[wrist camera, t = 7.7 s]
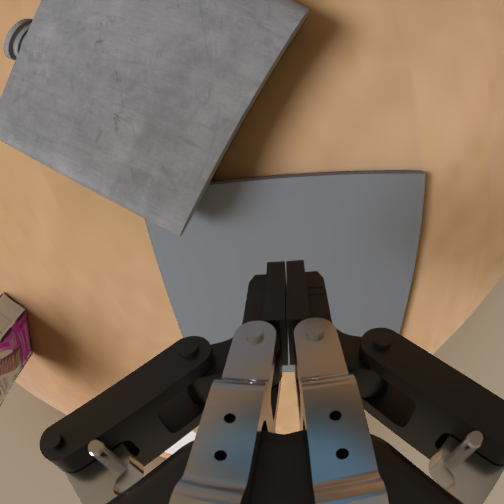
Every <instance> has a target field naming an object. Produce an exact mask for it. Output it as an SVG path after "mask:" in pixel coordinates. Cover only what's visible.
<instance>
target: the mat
mask: <svg viewBox="0 0 504 504" xmlns="http://www.w3.org/2000/svg"><path fill="white" fill-rule="evenodd" d="M425 179H426V174H425V173H424V172H422V171H413V170H384V171H342V172H320V173H303V174H288V175H275V176H263V177H252V178H241V179H232V180H223V181H214V182H210V183H209V185H208V187H207V189H206V191H205V192H204V194H203V196H202V198H201V200H200V202H199V204H198V206H197V208H196V210H195V212H194V214H193V216H192V218H191V220H190V221H189V223H188V225H187V227H186V229H185V231H184V232H183V234H182V235H181V236H178V235H176V234H174V233H172V232H170V231H168V230H166V229H164V228H162V227H160V226H158V225H156V224H154V223H153V222H151V221H149V220H147V219H145V222H146V226H147V229H148V233H149V236H150V240H151V243H152V246H153V250H154V253H155V256H156V260H157V263H158V266H159V269H160V272H161V275H162V279H163V282H164V285H165V288H166V291H167V294H168V297H169V299H170V302H171V305H172V308H173V311H174V314H175V317H176V319H177V322H178V325H179V327H180V330H181V333H182V336H183V338H185V337H189V336H199V337H203V338H205V339H206V340H207V341H208V342H209V343H210V345H211V344H215V343H219V342H223V341H226V340H228V339H231V338H232V337H233V336H234V333H235V331H236V330H237V329H238V328H239V327H240V326H241V325H242V323H243V316H244V310H245V304H246V300H247V298H246V297H247V293H248V285H249V282H250V281H251V279H252V278H253V277H254V276H255V275H261V274H266V270H267V262H278V261H285V270H286V261H293V260H304V267H305V272H310V271H318V272H319V274H320V275H321V276H322V277H323V278H324V282H325V288H326V292H327V298H328V303H329V308H330V314H331V320H332V323H333V324H334V326H335V327H336V328H337V329H338V330H339V331H341V332H343V333H345V334H348V335H353V336H359V337H362V336H363V335H364V333H366V332H367V331H368V330H370V329H373V328H388V329H391V330H393V331H395V332H396V333H398V334H399V333H400V329H401V326H402V322H403V318H404V314H405V310H406V306H407V301H408V297H409V292H410V288H411V283H412V278H413V273H414V267H415V262H416V256H417V250H418V243H419V236H420V229H421V221H422V213H423V203H424V192H425ZM286 283H287V273H286ZM282 372H295V365H290V357H289V339H288V365H284V366H282Z"/></svg>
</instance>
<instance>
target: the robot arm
mask: <svg viewBox="0 0 504 504" xmlns="http://www.w3.org/2000/svg"><path fill="white" fill-rule="evenodd" d="M286 273H287V283H286ZM246 298H247V300H246V304H245V310H244V316H243V323H242V325H241V326H240V327H239V328H238V329H237V330H236V331H235V333H234V336H233V337H232V338H231V339H228V340H226V341H223V342H219V343H215V344H211V345H210V343H209V342H208V341H207V340H206V339H205V338H203V337H199V336H189V337H185V338H182V339H180V340H179V341H177V342H176V343H174V344H173V345H171V346H170V347H169V348H167V349H166V350H164V351H163V352H161V353H160V354H158V355H157V356H156V357H154V358H153V359H151V360H150V361H148V362H147V363H145V364H144V365H142V366H141V367H140V368H138V369H137V370H135V371H134V372H132V373H131V374H129V375H128V376H126V377H125V378H123V379H122V380H120V381H119V382H117V383H116V384H114V385H113V386H111V387H110V388H108V389H107V390H105V391H104V392H102V393H101V394H99V395H98V396H96V397H95V398H93V399H92V400H90V401H89V402H87V403H86V404H84V405H83V406H81V407H79V408H78V409H76V410H75V411H73V412H72V413H70V414H69V415H67V416H66V417H64V418H62V419H61V420H59V421H58V422H56V423H55V424H53V425H51V426H50V427H48V428H47V429H46V430H45V431H44V433H43V434H42V436H41V440H40V450H41V452H42V454H43V455H44V457H46V458H47V459H48V460H50V461H51V462H53V463H54V464H55V465H56V466H58V467H59V468H60V469H61V470H62V471H64V472H65V473H66V475H67V477H68V479H69V481H70V482H71V484H72V486H73V488H74V490H75V491H76V493H77V495H78V497H79V498H80V500H81V502H82V503H83V504H483V502H484V501H485V499H486V498H487V496H488V495H489V493H490V492H491V490H492V489H493V487H494V485H495V484H496V482H497V481H498V479H499V477H500V475H501V474H502V472H503V470H504V400H503V399H501V398H500V397H498V396H497V395H495V394H493V393H492V392H490V391H489V390H487V389H486V388H484V387H482V386H481V385H479V384H478V383H476V382H475V381H473V380H471V379H470V378H468V377H467V376H465V375H464V374H462V373H460V372H459V371H457V370H456V369H454V368H452V367H451V366H449V365H448V364H446V363H444V362H443V361H441V360H440V359H438V358H436V357H435V356H433V355H432V354H430V353H428V352H427V351H425V350H424V349H422V348H420V347H419V346H417V345H416V344H414V343H412V342H411V341H409V340H408V339H406V338H404V337H403V336H401V335H400V334H398V333H396V332H395V331H393V330H391V329H388V328H373V329H370V330H368V331H367V332H366V333H364V335H363V336H362V337H359V336H353V335H348V334H345V333H343V332H341V331H339V330H338V329H337V328H336V327H335V326H334V324H333V323H332V320H331V314H330V308H329V303H328V298H327V292H326V288H325V282H324V278H323V277H322V276H321V275H320V274H319V272H318V271H310V272H305V267H304V260H293V261H286V270H285V261H278V262H267V270H266V274H261V275H255V276H254V277H253V278H252V279H251V281H250V282H249V285H248V293H247V297H246ZM288 339H289V357H290V365H295V382H296V392H297V402H298V411H299V421H300V431H298V432H294V433H290V434H285V435H282V434H276V433H275V427H276V418H277V411H278V403H279V395H280V387H281V378H282V366H284V365H288ZM364 409H365V410H366V411H367V412H368V413H370V414H371V415H372V416H373V417H375V418H376V419H377V420H379V421H380V422H381V423H382V424H384V425H385V426H386V427H388V428H389V429H390V430H391V431H393V432H394V433H395V434H397V435H398V436H399V437H400V438H402V439H403V440H404V441H406V442H407V443H408V444H410V445H411V446H412V447H414V448H415V449H416V450H418V451H419V452H420V453H422V454H423V455H425V456H426V457H427V458H429V459H430V461H429V472H430V475H431V476H432V478H433V479H434V480H435V481H436V482H437V483H436V482H435V481H434V480H433V479H431V478H430V477H429V476H428V475H426V474H425V473H424V472H423V471H421V470H420V469H419V468H417V467H416V466H415V465H414V464H413V463H412V462H410V461H409V460H408V459H407V458H406V457H404V456H403V455H402V454H401V453H400V452H398V451H397V450H396V449H395V448H394V447H392V446H391V445H390V444H389V443H387V442H386V441H384V440H383V439H381V438H379V437H377V436H375V435H372V434H370V432H369V428H368V424H367V420H366V416H365V412H364ZM198 425H199V427H198V430H197V433H196V436H195V440H193V441H191V442H189V443H187V444H186V445H184V446H183V447H181V448H180V449H179V450H177V451H176V452H175V453H174V454H172V455H171V456H170V457H169V458H167V459H166V460H165V461H164V462H162V463H161V464H160V465H159V466H157V467H156V468H155V469H153V470H152V471H151V472H150V473H148V474H147V475H146V476H144V477H143V474H144V468H143V467H144V466H145V465H147V464H148V463H150V462H151V461H152V460H154V459H155V458H157V457H158V456H159V455H161V454H162V453H163V452H165V451H166V450H167V449H169V448H170V447H171V446H173V445H174V444H175V443H177V442H178V441H179V440H181V439H182V438H183V437H184V436H186V435H187V434H188V433H190V432H191V431H192V430H193V429H195V428H196V427H197V426H198Z"/></svg>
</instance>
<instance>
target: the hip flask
mask: <svg viewBox="0 0 504 504" xmlns="http://www.w3.org/2000/svg"><path fill="white" fill-rule="evenodd" d="M309 12H310V9H309V8H307V7H305V6H303V5H301V4H299V3H297V2H295V1H293V0H41V3H40V5H39V7H38V9H37V11H36V14H35V16H34V18H33V20H32V19H24V20H21V21H19V22H18V23H16V24H15V25H14V26H13V27H12V28H11V30H10V31H9V33H8V34H7V36H6V39H5V42H4V53H5V55H6V57H8V58H9V59H13V60H16V61H15V63H14V66H13V68H12V71H11V73H10V76H9V78H8V81H7V83H6V86H5V89H4V91H3V94H2V96H1V99H0V140H1V141H2V142H4V143H6V144H8V145H10V146H11V147H13V148H15V149H17V150H18V151H20V152H22V153H24V154H26V155H27V156H29V157H31V158H33V159H35V160H37V161H38V162H40V163H42V164H44V165H46V166H47V167H49V168H51V169H53V170H55V171H57V172H58V173H60V174H62V175H64V176H66V177H68V178H69V179H71V180H73V181H75V182H77V183H79V184H81V185H82V186H84V187H86V188H88V189H90V190H92V191H94V192H96V193H97V194H99V195H101V196H103V197H105V198H107V199H109V200H111V201H112V202H114V203H116V204H118V205H120V206H122V207H124V208H126V209H128V210H130V211H131V212H133V213H135V214H137V215H139V216H141V217H143V218H145V219H147V220H149V221H151V222H153V223H154V224H156V225H158V226H160V227H162V228H164V229H166V230H168V231H170V232H172V233H174V234H176V235H178V236H181V235H182V234H183V232H184V231H185V229H186V227H187V225H188V223H189V221H190V220H191V218H192V216H193V214H194V212H195V210H196V208H197V206H198V204H199V202H200V200H201V198H202V196H203V194H204V192H205V191H206V189H207V187H208V185H209V183H210V181H211V179H212V177H213V175H214V173H215V172H216V170H217V168H218V166H219V164H220V162H221V160H222V159H223V157H224V155H225V153H226V151H227V149H228V148H229V146H230V144H231V142H232V140H233V139H234V137H235V135H236V133H237V131H238V130H239V128H240V126H241V124H242V123H243V121H244V119H245V117H246V116H247V114H248V112H249V110H250V109H251V107H252V105H253V103H254V102H255V100H256V98H257V97H258V95H259V93H260V92H261V90H262V88H263V87H264V85H265V83H266V82H267V80H268V78H269V77H270V75H271V73H272V72H273V70H274V68H275V67H276V65H277V63H278V62H279V60H280V59H281V57H282V55H283V54H284V52H285V51H286V49H287V47H288V46H289V44H290V43H291V41H292V40H293V38H294V37H295V35H296V33H297V32H298V30H299V29H300V27H301V26H302V24H303V22H304V21H305V19H306V17H307V16H308V14H309Z"/></svg>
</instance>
